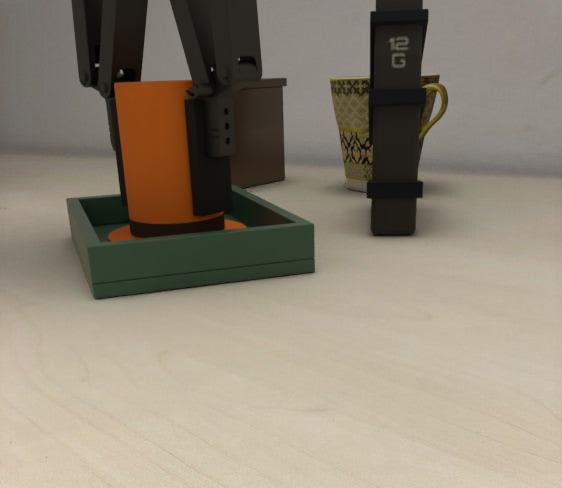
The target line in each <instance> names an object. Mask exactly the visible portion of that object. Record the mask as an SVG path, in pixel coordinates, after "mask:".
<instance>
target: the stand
mask: <svg viewBox="0 0 562 488" xmlns="http://www.w3.org/2000/svg"><path fill="white" fill-rule="evenodd" d="M287 86H288V79H287V77H261V80H260V81H259V82H258V83H255V84H249V85H247V86H245V87H244V88H242V89H240V90H239V91H238V92H237V93H236V95H235V99H234V110H235V129H236V135H235V136H236V150H235V154H234V155H230V168H231V185H236V186H238V187H240V188H242V189H248V188H251V187H255V186H261V185H266V184H271V183H275V182H280V181H284V180H286V162H285V161H286V159H285V158H286V157H285V118H284V87H287Z"/></svg>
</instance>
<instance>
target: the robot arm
mask: <svg viewBox="0 0 562 488" xmlns="http://www.w3.org/2000/svg"><path fill="white" fill-rule="evenodd" d="M70 2H71V11H72V21H73V29H74V30H73V32H74V42H75V53H76V63H77V64H76V65H77V70H78V71H77V74H78V80H79V83H80V85H81V86H82V87H84V88H86V89H87V88H91V89H93V90H95V91H97V92H98V94H99V95H100V97H102V98H103V99H104V101H105V105H106V112H107V113H106V115H107V122H108V126H109V127H108V131H109V139H110V144H111V146H112V150H113V151H114V153H115V159H116V168H117V175H118V176H117V177H118V178H117V179H118V186H119V192H120V193H119V194H120V195H121V203H122V206H127V207H128V201H127V193H126V184H125V175H124V167H123V158H122V149H121V141H120V132H119V123H118V114H117V106H116V97H115V88H114V83H120V82H141V81H142V71H143V62H144V52H145V51H144V49H145V38H146V28H147V18H148V17H147V15H148V6H149V0H71V1H70ZM169 2H170V6H171V10H172V14H173V18H174V22H175V25H176V28H177V32H178V35H179V39H180V42H181V43H180V44H181V46H182V49H183V53H184V57H185V61H186V64H187V68H188V72H189V75H190V79H191V80H192V82H193V87H191V88H189V89H188V90H185V92H186V94H187V95H188V96H189V98H192V99H188V100H184V102H185V115H186V127H187V140H188V152H189V165H190V177H191V190H192V202H193V215H194V216H202V217H203V216H207V215H211V214H215V213H219V212H224V211H228V210H232V209H233V203H232V186H231V168H230V155H234V154H235V150H236V136H235V135H236V129H235V110H234V99H235V95H236V93H237V92H238V91H239V90H240V89H242V88H244V87H245V86H247V85H249V84H255V83H258V82H259V81H260V80H261V78H263V61H262V47H261V37H260V36H261V35H260V25H259V12H258V11H259V9H258V1H257V0H169ZM96 65H98V66H96ZM121 71H122V73H121ZM196 98H202V99H196Z"/></svg>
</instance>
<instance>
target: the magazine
mask: <svg viewBox="0 0 562 488" xmlns="http://www.w3.org/2000/svg"><path fill="white" fill-rule="evenodd" d="M429 11H430V10H429V8H424V0H375V10H371V11H370V12H369V14H370V15H369V75H370V89H369V96H368V115H369V144H373V153H372V180H368V182H367V192H366V199H367V200H368V199H370V201H371V203H370V204H371V205H370V207H371V208H370V231H371V233H372V234H373V235H378V236H379V235H380V236H381V235H385V236H386V235H387V236H388V235H389V236H390V235H394V236H395V235H412V234H414V233H415V232H416V229H417V228H416V227H417V225H416V224H417V204H418V202H417V201H418V199H423V197H424V196H423V195H424V181H422V180H419V167H418V159H419V131H420V124H421V120H422V117H423V113H424V109H425V105H426V94H427V88H426V87H424V88H421V74H422V64H423V58H424V51H425V46H426V45H425V44H426V39H427V38H426V37H427V30H428V25H429V14H430V13H429Z"/></svg>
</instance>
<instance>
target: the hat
mask: <svg viewBox="0 0 562 488" xmlns="http://www.w3.org/2000/svg"><path fill="white" fill-rule="evenodd" d="M191 87H193V82H192V79H175V80H174V79H173V80H170V79H169V80H149V81H148V80H145V81H142V80H141V82H120V83H114V88H115V97H116V106H117V114H118V123H119V132H120V141H121V149H122V158H123V167H124V175H125V184H126V193H127V201H128V210H129V225H128V226H124V227H121V228H119V229H116V230H114V231H112V232H111V233H110V234H109V235H108V242H111V241H121V240H131V239H141V238H150V237H160V236H170V235H180V234H190V233H200V232H210V231H220V230H230V229H240V228H247V227H246V226H245V225H244V224H241V223H239V222H236V221H231V220H225V219H224V212H219V213H215V214H211V215H207V216H203V217H202V216H194V215H193V202H192V190H191V177H190V165H189V152H188V140H187V127H186V115H185V102H184V100H188V99H192V98H189V96H188V95H187V94H186V92H185V90H188V89H189V88H191ZM196 99H202V98H196Z"/></svg>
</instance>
